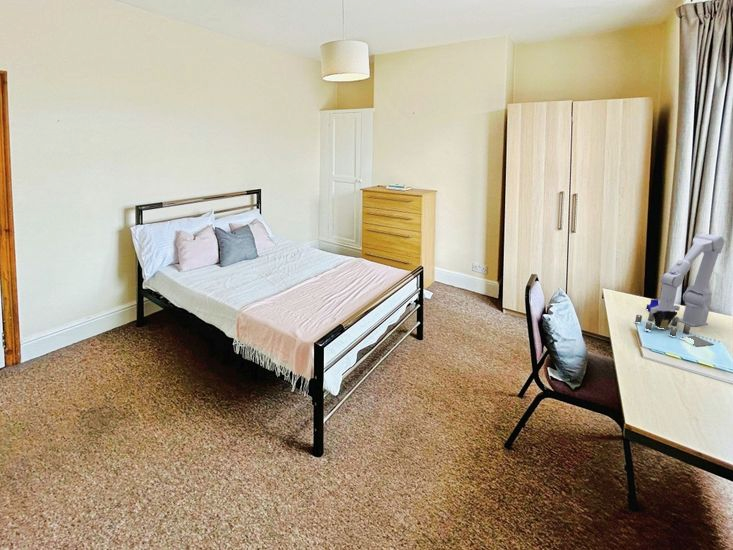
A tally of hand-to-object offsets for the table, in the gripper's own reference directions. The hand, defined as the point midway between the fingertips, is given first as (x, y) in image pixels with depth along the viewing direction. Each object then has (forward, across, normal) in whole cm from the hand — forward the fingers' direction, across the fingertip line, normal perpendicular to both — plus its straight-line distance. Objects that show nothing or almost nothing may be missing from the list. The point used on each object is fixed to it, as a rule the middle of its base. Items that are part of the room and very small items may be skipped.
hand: (661, 325), depth 201 cm
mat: (+1, +2, -16) cm, 16 cm away
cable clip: (+2, +13, +16) cm, 21 cm away
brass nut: (+1, 0, 0) cm, 1 cm away
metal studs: (+1, 0, 0) cm, 1 cm away
